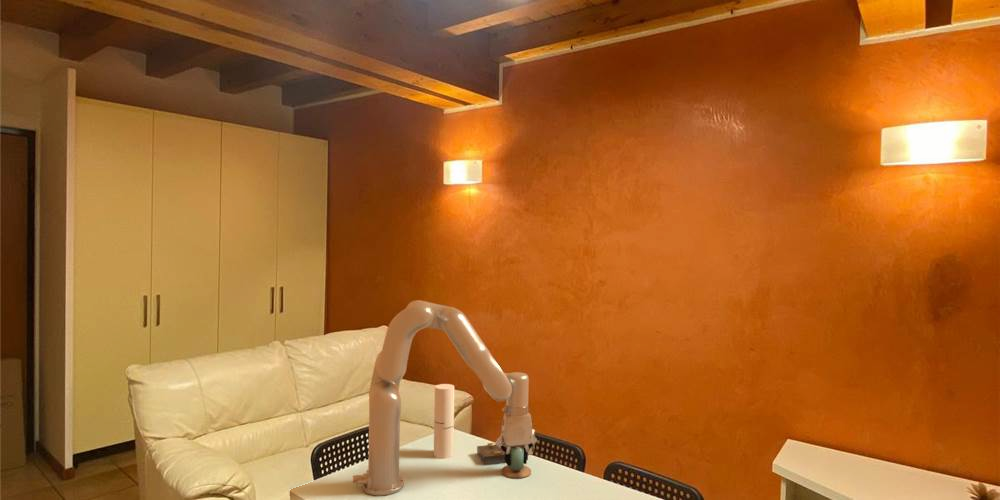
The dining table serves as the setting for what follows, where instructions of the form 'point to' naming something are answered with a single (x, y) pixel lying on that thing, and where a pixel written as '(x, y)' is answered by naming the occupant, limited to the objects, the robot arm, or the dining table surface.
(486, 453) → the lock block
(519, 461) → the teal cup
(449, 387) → the cylindrical container
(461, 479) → the dining table surface
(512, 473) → the coaster
